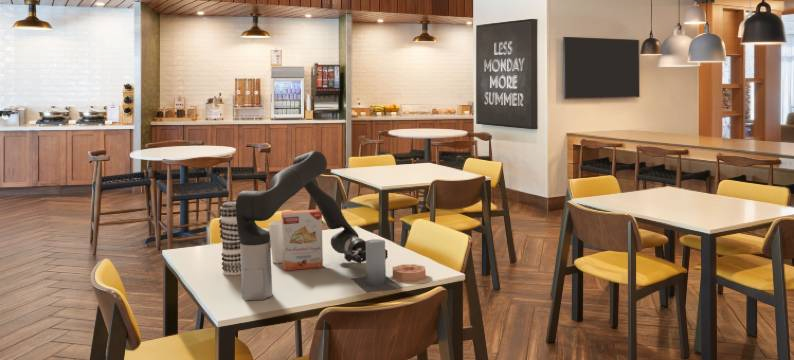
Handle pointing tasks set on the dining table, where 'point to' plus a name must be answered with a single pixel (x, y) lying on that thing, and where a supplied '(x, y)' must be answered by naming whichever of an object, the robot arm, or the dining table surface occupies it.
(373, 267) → the grey pillar
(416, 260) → the dining table surface
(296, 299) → the dining table surface
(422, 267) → the pink donut
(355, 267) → the dining table surface
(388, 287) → the mat
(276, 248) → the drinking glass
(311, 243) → the cracker box
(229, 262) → the decorative candle
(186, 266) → the dining table surface
